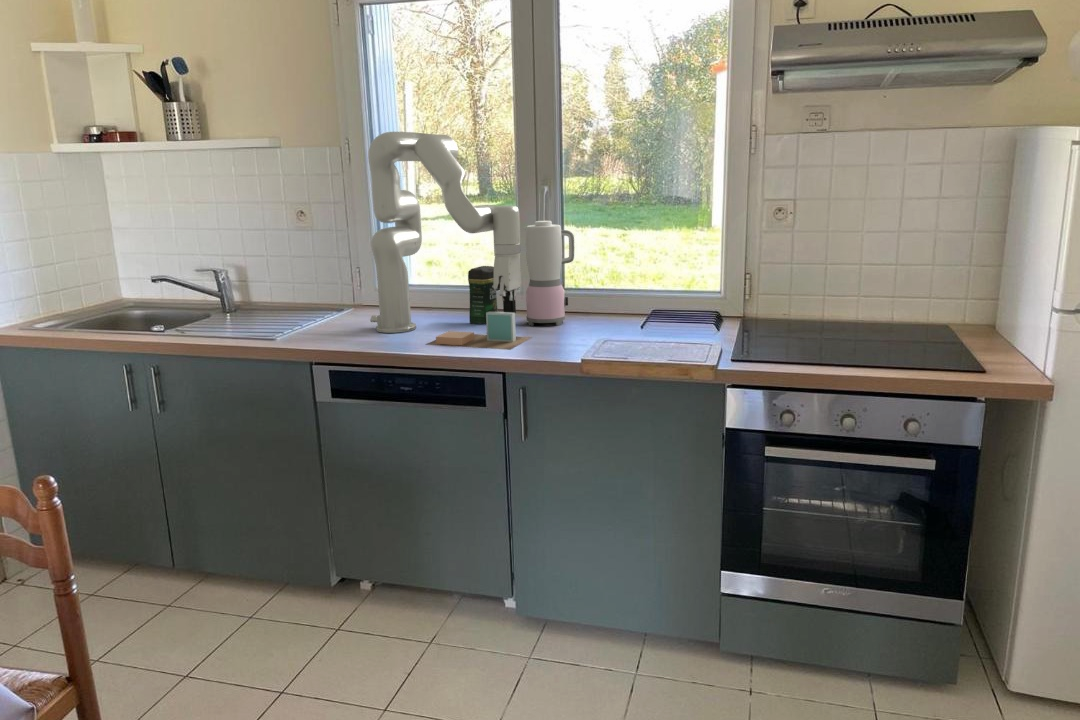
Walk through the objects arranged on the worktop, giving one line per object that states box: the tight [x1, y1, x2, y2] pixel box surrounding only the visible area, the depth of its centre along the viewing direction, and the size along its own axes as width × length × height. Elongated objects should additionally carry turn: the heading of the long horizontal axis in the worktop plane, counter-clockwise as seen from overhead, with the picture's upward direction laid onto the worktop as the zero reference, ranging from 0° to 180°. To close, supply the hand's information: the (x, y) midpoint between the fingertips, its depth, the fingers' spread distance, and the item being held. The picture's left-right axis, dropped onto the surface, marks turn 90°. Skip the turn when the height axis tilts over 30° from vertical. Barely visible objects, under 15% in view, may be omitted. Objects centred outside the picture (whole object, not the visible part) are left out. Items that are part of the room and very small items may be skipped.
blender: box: [522, 220, 575, 326], centre depth 256 cm, size 16×12×32 cm
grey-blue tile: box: [486, 311, 517, 342], centre depth 230 cm, size 8×2×8 cm, turn 69°
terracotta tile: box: [435, 330, 475, 345], centre depth 231 cm, size 8×2×8 cm
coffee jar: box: [467, 265, 499, 326], centre depth 258 cm, size 10×8×19 cm
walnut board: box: [425, 333, 533, 350], centre depth 232 cm, size 26×16×1 cm, turn 69°
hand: (509, 313), depth 236 cm, fingers closed
